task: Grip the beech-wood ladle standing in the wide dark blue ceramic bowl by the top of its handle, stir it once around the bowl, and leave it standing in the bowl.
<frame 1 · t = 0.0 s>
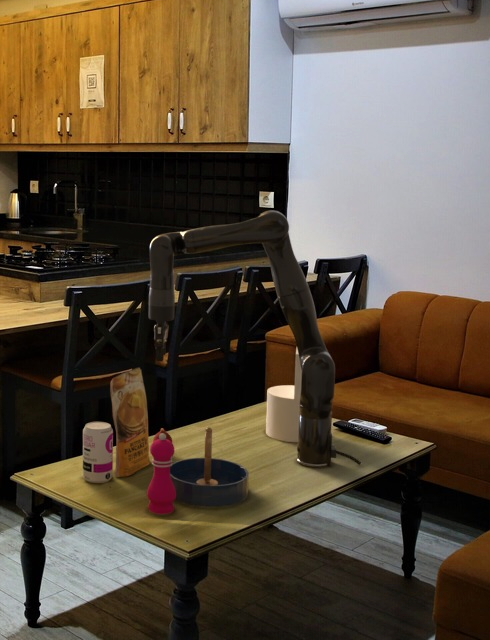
hand: (160, 358, 258), 29 cm above the table, tool pointing down, fingers open, 8 cm apart
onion: (162, 455, 262), on the table
pepper mill: (161, 511, 219), on the table
ladle: (207, 490, 231), point 1 cm above the table, touching bowl
pancake mix bag: (130, 469, 249), on the table
bowl: (207, 493, 232), on the table
supplement can: (97, 479, 241), on the table
cylinder: (293, 434, 283), on the table
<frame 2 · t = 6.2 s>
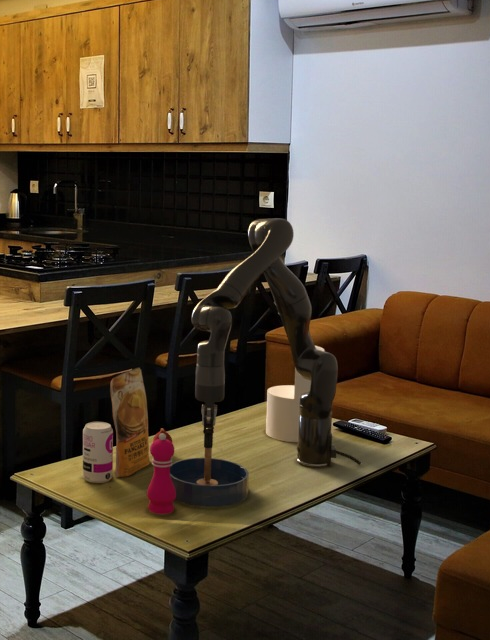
hand: (208, 445, 230), 13 cm above the table, tool pointing down, fingers closed on ladle
ladle: (207, 490, 231), point 1 cm above the table, touching bowl, gripper
everything else where it was.
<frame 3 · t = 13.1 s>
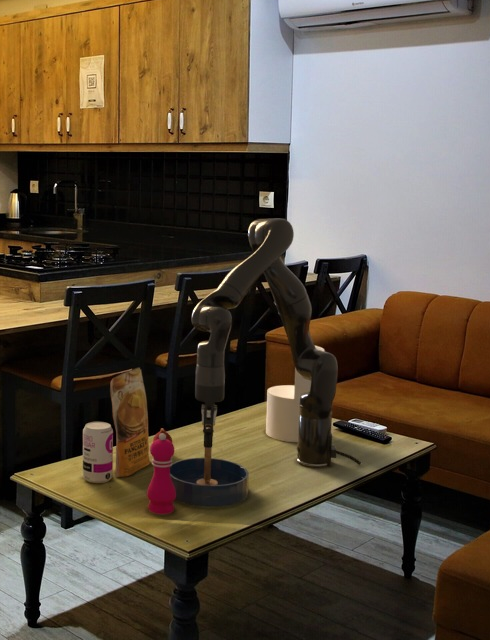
hand: (208, 442, 230), 14 cm above the table, tool pointing down, fingers open, 8 cm apart
ladle: (206, 490, 231), point 1 cm above the table, touching bowl
everything else where it was.
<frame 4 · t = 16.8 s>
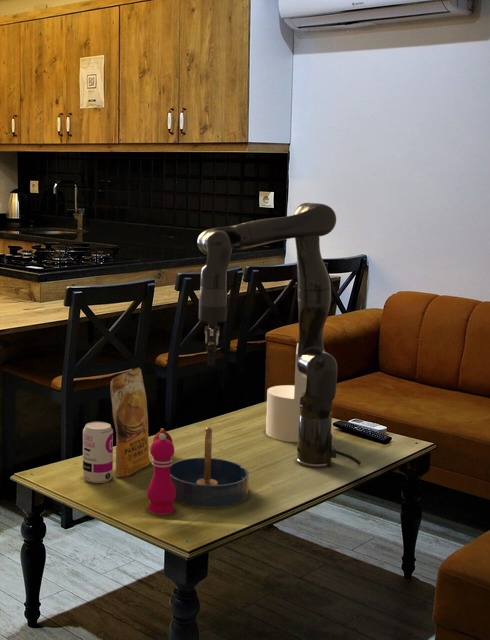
hand: (211, 361, 241), 32 cm above the table, tool pointing down, fingers open, 8 cm apart
nothing on the table moved.
at the end: ladle inside the target area in the bowl (0.0 cm from its centre), point 0.6 cm above the bowl's base; ladle tilted 0°; the gripper is holding nothing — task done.
